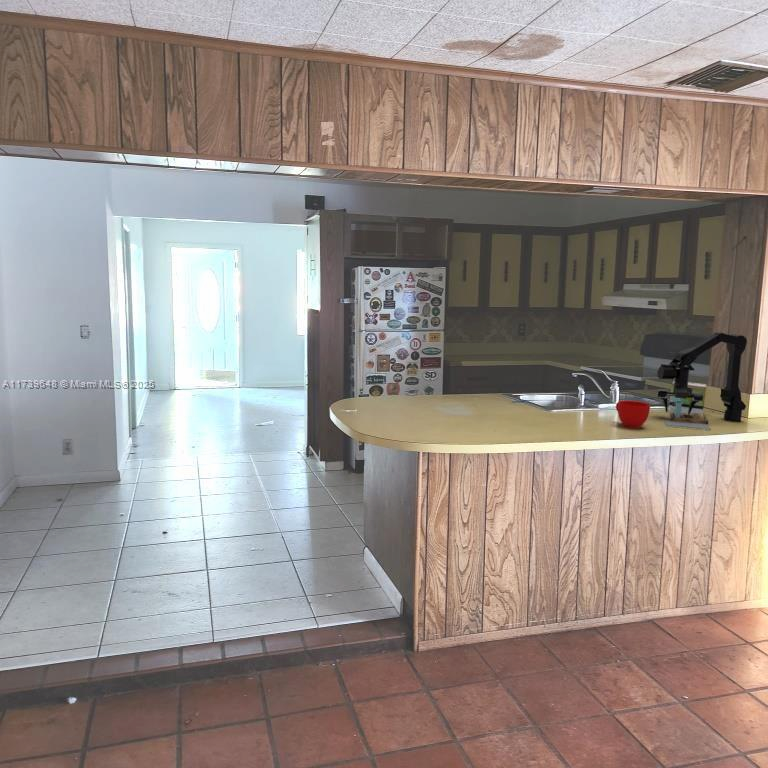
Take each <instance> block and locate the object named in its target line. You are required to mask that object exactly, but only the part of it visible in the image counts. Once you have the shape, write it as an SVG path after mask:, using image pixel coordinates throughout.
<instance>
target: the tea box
mask: <svg viewBox="0 0 768 768" xmlns="http://www.w3.org/2000/svg"><path fill="white" fill-rule="evenodd" d="M707 386H708V384H707V383H700V382H699V383H698V382H693V381H692V382H690V381H688V388H692V393H693V392H696V393H701V394H702V395H703V401H699V402H696V404H695V405H694V406H693V408H692V410H691V412H690V414H689V415H694V413H701V414H703V413H704V407H705V402H706V393H707ZM673 389H674V380H673V382H671V388H670V392H673ZM691 399H692V398H686V399H683V398H676V397H675V396H669V403H668V412H669V413H675V405H676V400H681V402H682V406H681V414H688V410H689V406H690V401H691Z"/></svg>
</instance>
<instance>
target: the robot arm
mask: <svg viewBox="0 0 768 768" xmlns="http://www.w3.org/2000/svg"><path fill="white" fill-rule="evenodd" d="M720 343H725V344H726V349H727V352H728V365H727V375H726V376H727V377H726V385H725V387H724V388H722V387H721V389H720V394H719V395H720V396H719V398H720V400H721V401H722V403H723V406H724V407H725V409H724V411H723V418H722V419H723V420H724V421H726V422H733V423H736V422H737V423H742V414H743V411H745V409H746V407H747V405H746V404H745V403H744V401H743V400H742V392H741V390H740V387H739V385H740V384H739V383H740V372H741V361H742V355H743V353H744V352H745V351H746V348H747V347H746V346H747V343H748V339H747V337H745V336H744V335H740V334H734V333H732V334H726V333H724V332H719V331H716V332H714V333H713V334H712V335H710V336H709V337H707V338H705V339H703V340H702V341H700V342H699V343H696V344H695V345H694V346H692V347H690V348H689V347H688V348H686V349H683V350H680V351H678V352H676V354H675V356H674V358H672V360H671V361H670V362H669V364H665V363H661V364H660V367H659V368H658V369H657V374H656V375H657V377H658V379H659V380H673V381H674V389H673V392H671V391H668V389H658V390H657V391H656V395H657V396H656V397H658V398H660V399H661V400H662V401H663V404H664V407H665V408H664V409H665V413H666V414H667V413H668V411H669V406H668V397H670V396H675V397H676V398H683V399H686V398H692V399H691V401H690V406H689V410H688V415H691V414H690V412H691V410H692V408H693V406H694V405H695V404H696V402H699V401H703V395H702V394H701V393H696V392H693V393H692V388H688V382H689V378H690V371H695V368H694V367H693V365H692V364H693V363H694V362H695V361H696V360H697V359H698V357H699V356H700V355H703V353H705V352H707V351H708V350H710V349H712V348H713V347H715V346H717V345H718V344H720Z"/></svg>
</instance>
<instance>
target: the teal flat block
mask: <svg viewBox="0 0 768 768" xmlns="http://www.w3.org/2000/svg"><path fill="white" fill-rule="evenodd" d="M681 406H682V402H681V400H676V405H675V412H674V413H675V414H674V417H675V418H680V415H681V414H682V413H681Z"/></svg>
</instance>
